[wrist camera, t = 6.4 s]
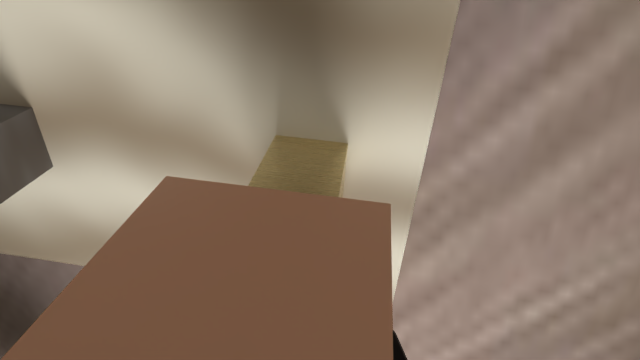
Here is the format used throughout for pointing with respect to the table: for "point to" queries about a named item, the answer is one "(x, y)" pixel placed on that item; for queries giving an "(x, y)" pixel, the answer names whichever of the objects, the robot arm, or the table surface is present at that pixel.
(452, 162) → the table surface
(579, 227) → the table surface
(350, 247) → the peach rectangular block
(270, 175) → the post
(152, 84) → the post board
